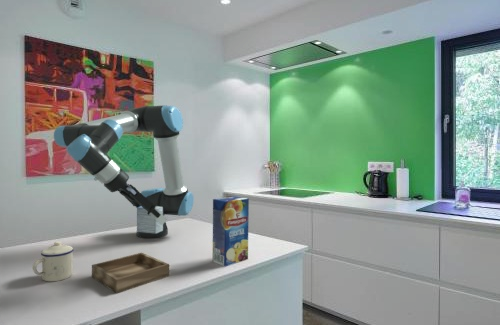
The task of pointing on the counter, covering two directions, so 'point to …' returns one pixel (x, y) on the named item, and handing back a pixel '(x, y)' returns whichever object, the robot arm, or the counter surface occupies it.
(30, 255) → the counter surface
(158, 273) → the tray
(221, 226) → the juice carton
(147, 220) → the medicine box
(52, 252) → the teacup with lid
